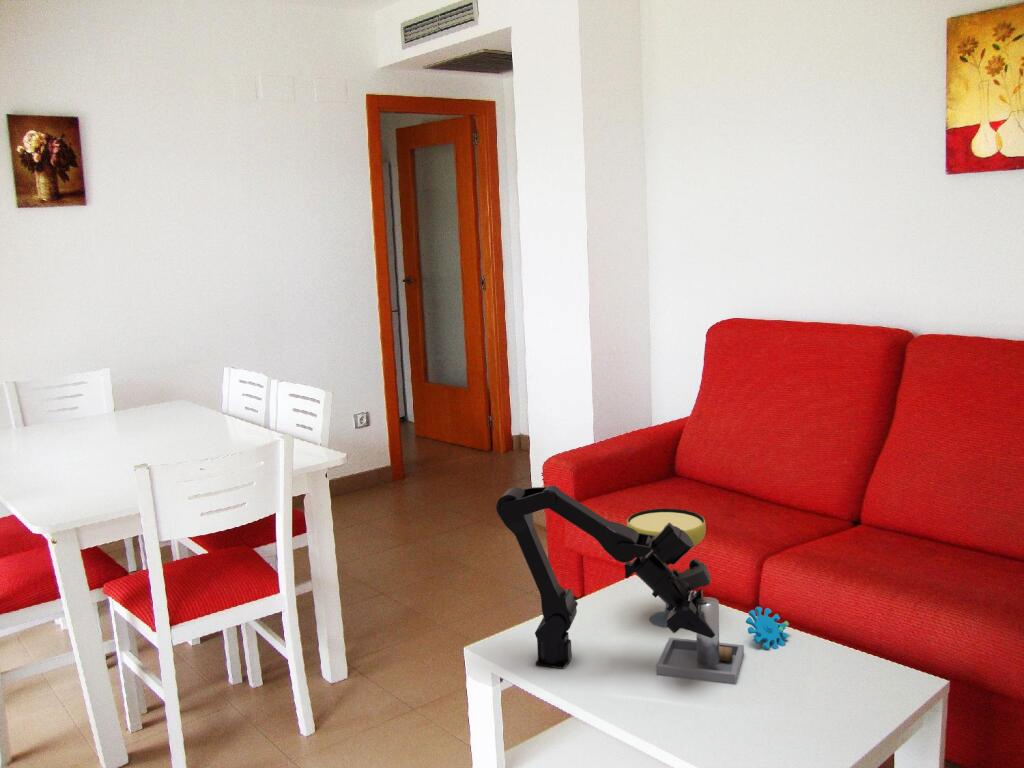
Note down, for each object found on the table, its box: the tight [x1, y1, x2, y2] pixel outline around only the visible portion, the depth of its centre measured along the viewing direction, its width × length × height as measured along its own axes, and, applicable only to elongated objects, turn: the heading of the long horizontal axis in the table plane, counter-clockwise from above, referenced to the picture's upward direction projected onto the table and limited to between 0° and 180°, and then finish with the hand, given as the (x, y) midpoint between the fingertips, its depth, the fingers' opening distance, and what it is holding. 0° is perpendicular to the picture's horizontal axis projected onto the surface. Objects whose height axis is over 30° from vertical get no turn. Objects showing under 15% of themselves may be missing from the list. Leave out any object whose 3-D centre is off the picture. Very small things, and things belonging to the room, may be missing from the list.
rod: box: [719, 646, 733, 662], centre depth 202 cm, size 7×3×3 cm, turn 70°
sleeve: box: [695, 596, 720, 666], centre depth 197 cm, size 5×5×13 cm
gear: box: [745, 606, 790, 650], centre depth 211 cm, size 11×6×10 cm
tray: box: [656, 636, 745, 685], centre depth 201 cm, size 16×14×3 cm
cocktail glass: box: [626, 508, 707, 629], centre depth 222 cm, size 18×18×25 cm
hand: (714, 631), depth 196 cm, fingers closed on sleeve, 5 cm apart
